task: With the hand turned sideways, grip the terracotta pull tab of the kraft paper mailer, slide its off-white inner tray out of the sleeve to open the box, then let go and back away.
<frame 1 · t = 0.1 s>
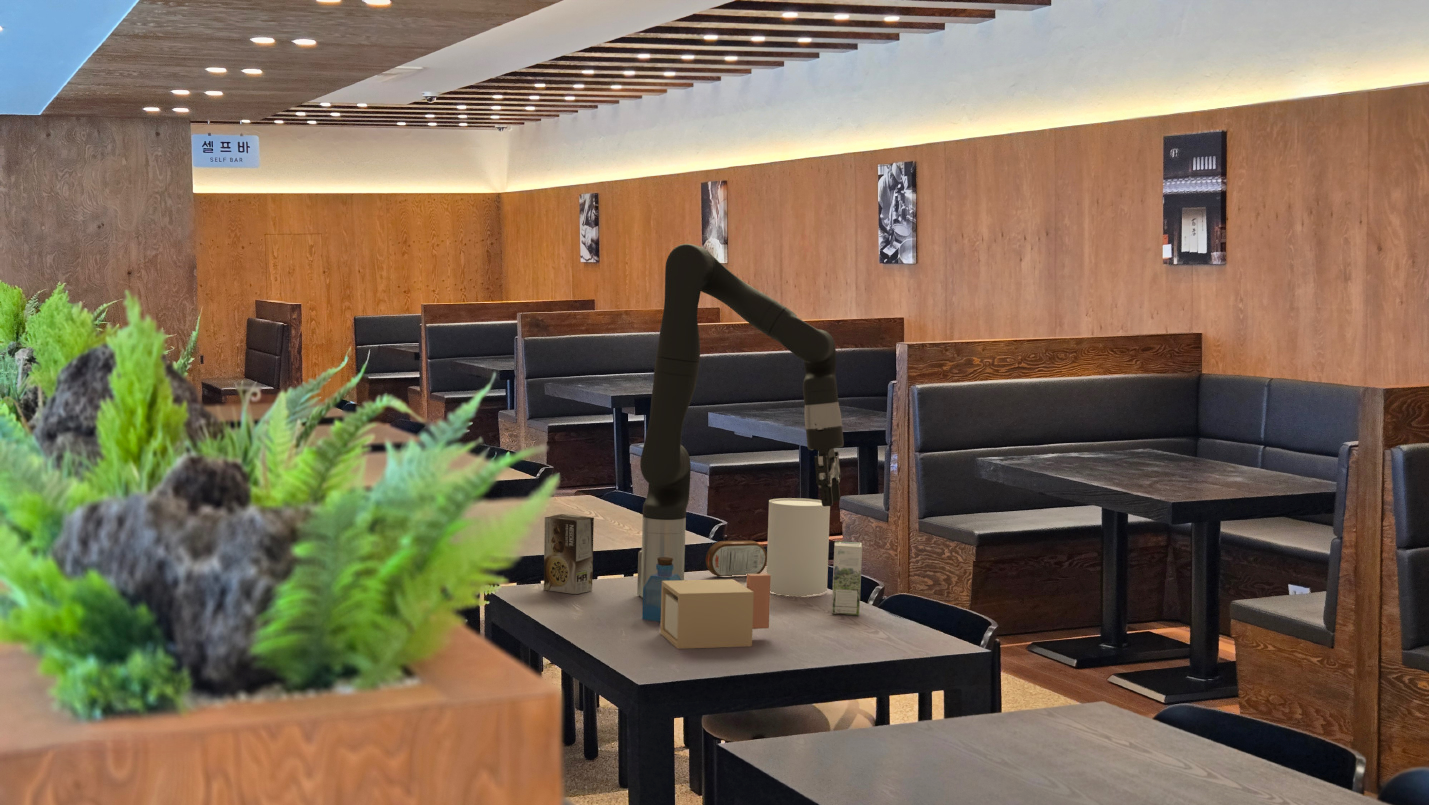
hand: (831, 503, 295), 22 cm above the table, tool pointing down, fingers open, 8 cm apart
canister: (796, 592, 317), on the table
mailer sleeve: (705, 639, 265), on the table
tin: (736, 577, 334), on the table
coffee box: (567, 591, 310), on the table
syrup box: (845, 613, 295), on the table
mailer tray: (705, 639, 265), resting on mailer sleeve, slide at 0.0 cm
perfume bottle: (663, 619, 284), on the table
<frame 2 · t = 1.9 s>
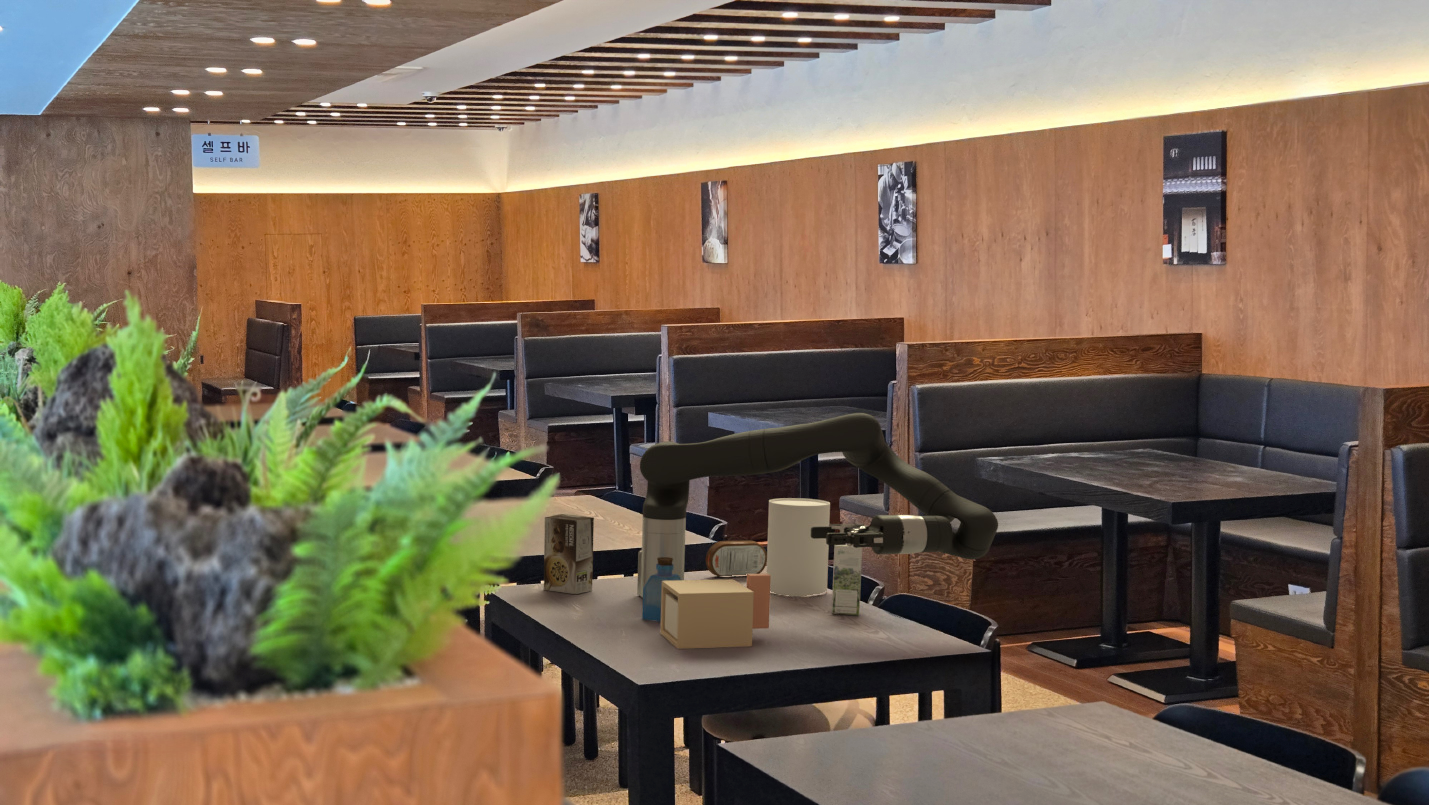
hand: (818, 535, 270), 19 cm above the table, tool horizontal, fingers open, 8 cm apart
nothing on the table moved.
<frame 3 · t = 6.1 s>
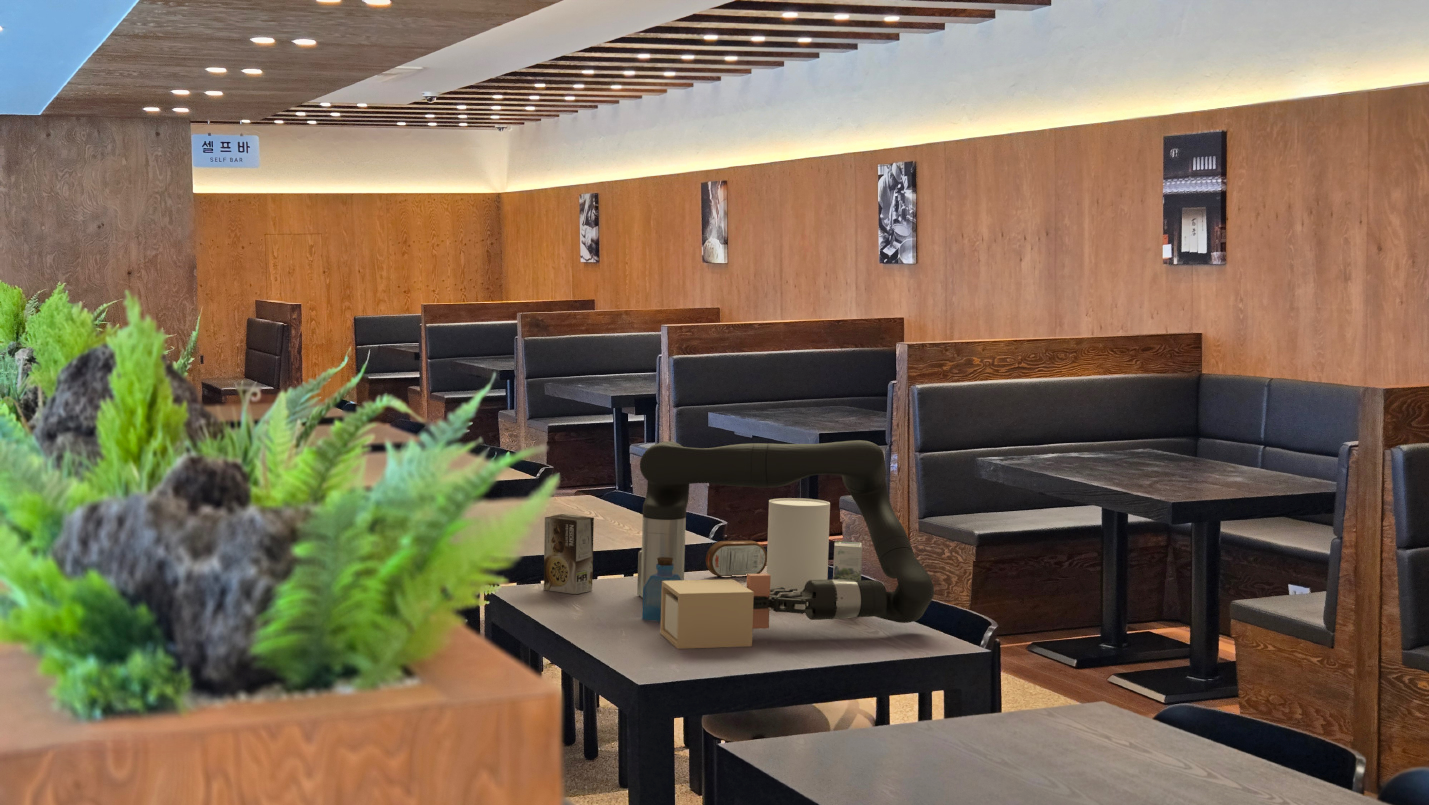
hand: (745, 601, 267), 7 cm above the table, tool horizontal, fingers closed
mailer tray: (705, 639, 265), resting on mailer sleeve, slide at 0.0 cm, touching gripper
everything else where it was.
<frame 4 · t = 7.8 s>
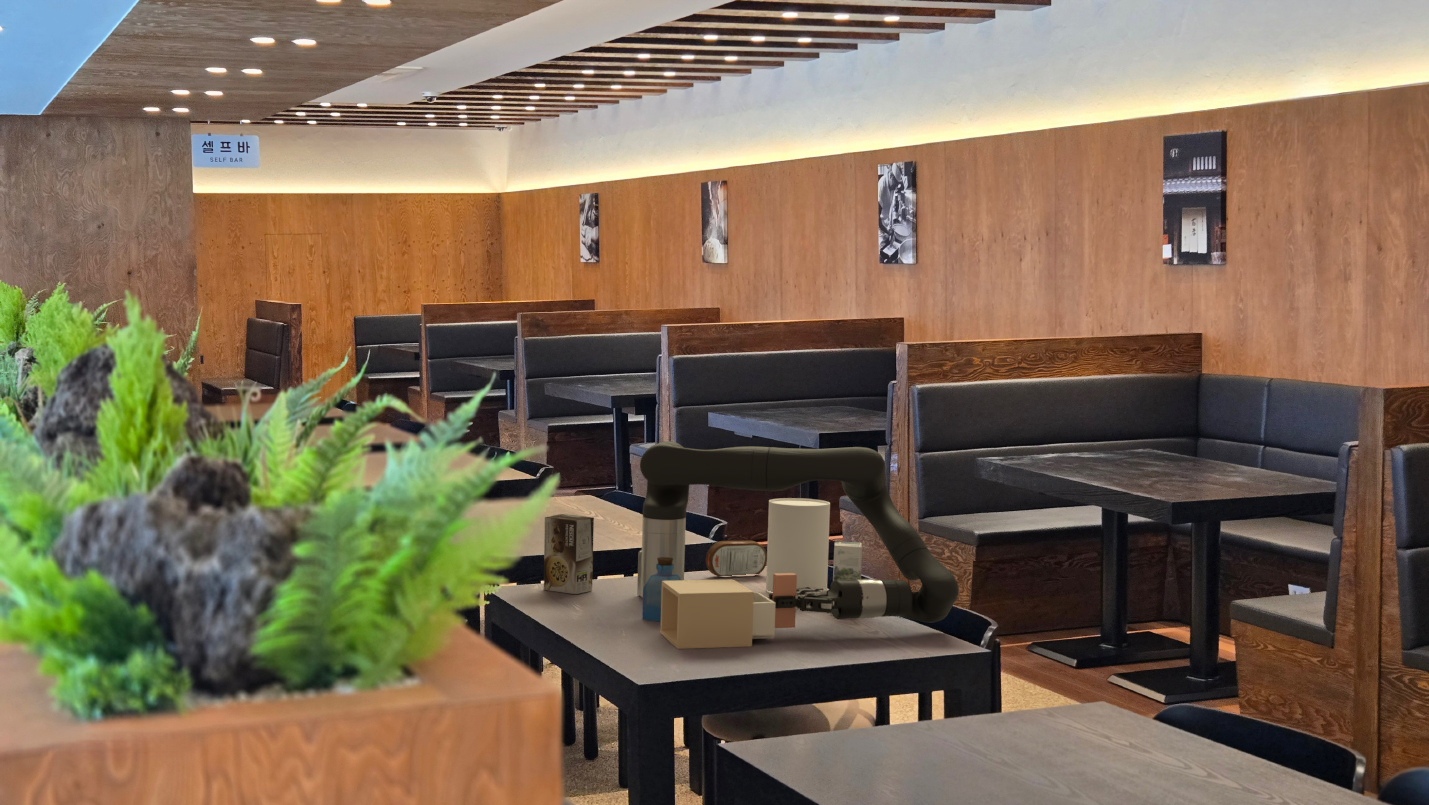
hand: (771, 600, 268), 7 cm above the table, tool horizontal, fingers closed on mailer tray, 2 cm apart
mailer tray: (732, 638, 266), resting on mailer sleeve, slide at 5.2 cm, touching gripper
everything else where it was.
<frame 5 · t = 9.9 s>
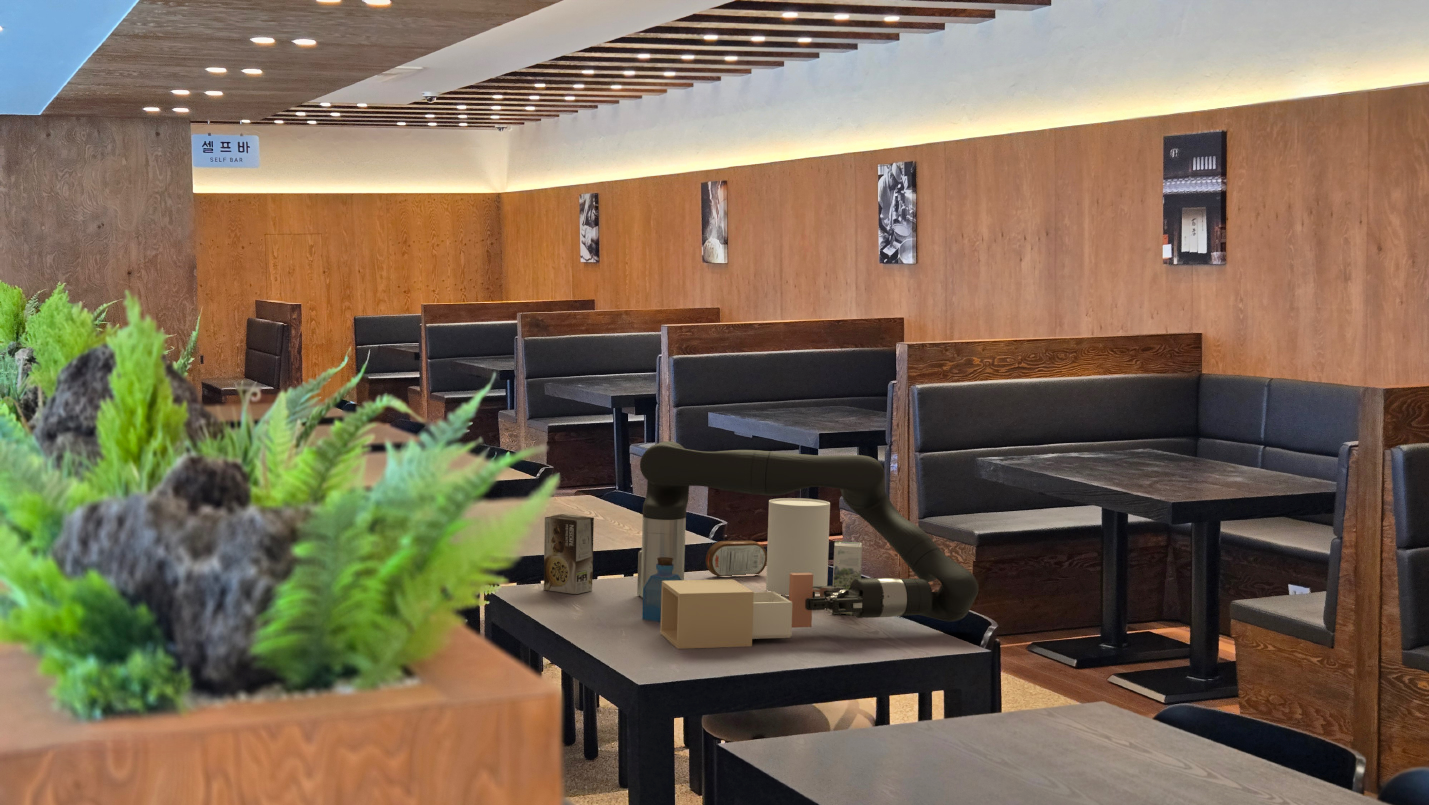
hand: (798, 599, 270), 7 cm above the table, tool horizontal, fingers open, 8 cm apart
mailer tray: (748, 638, 267), resting on mailer sleeve, slide at 8.5 cm
everything else where it was.
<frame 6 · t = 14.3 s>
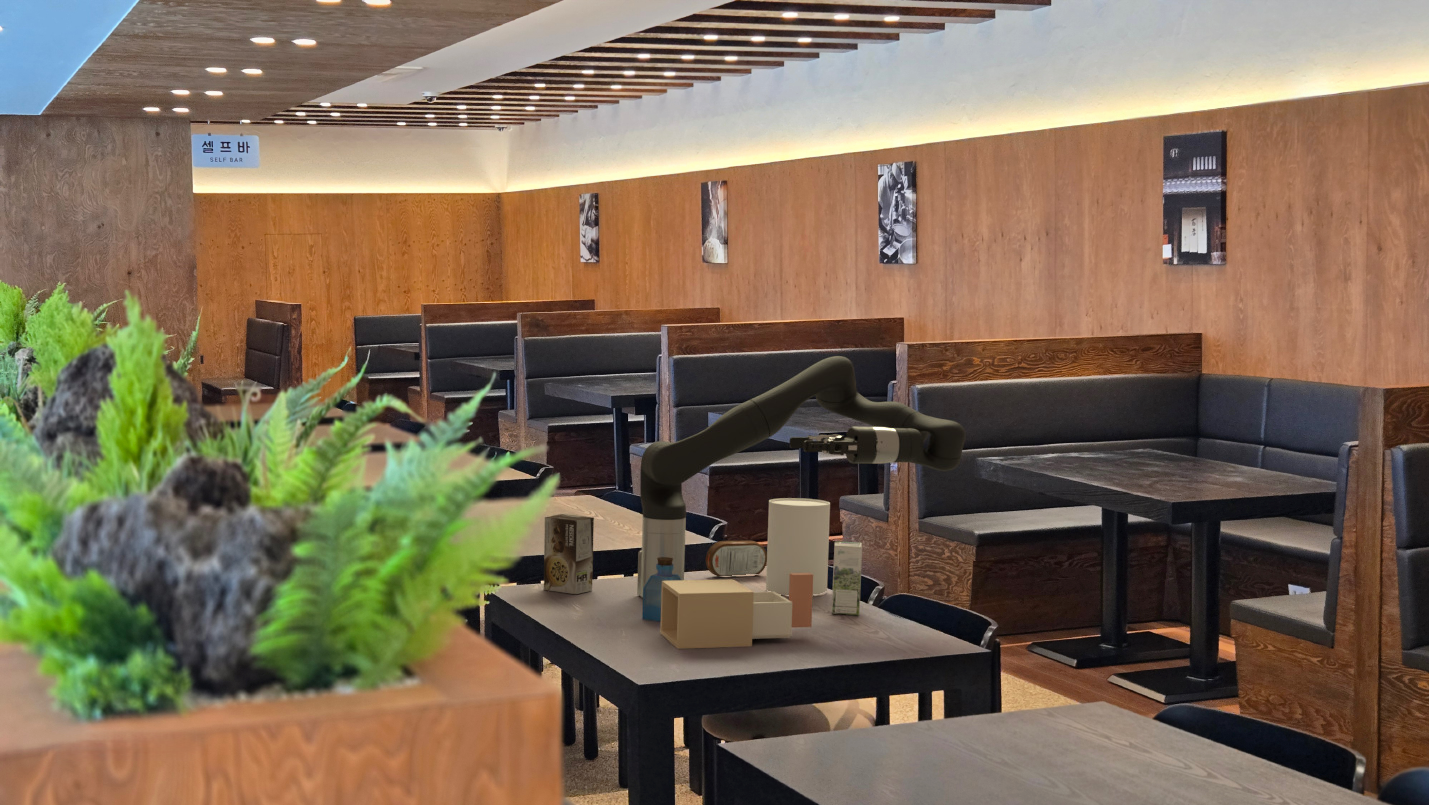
hand: (797, 444, 287), 35 cm above the table, tool horizontal, fingers open, 8 cm apart
nothing on the table moved.
at the end: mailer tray slide at 8.5 cm; the gripper is holding nothing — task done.
